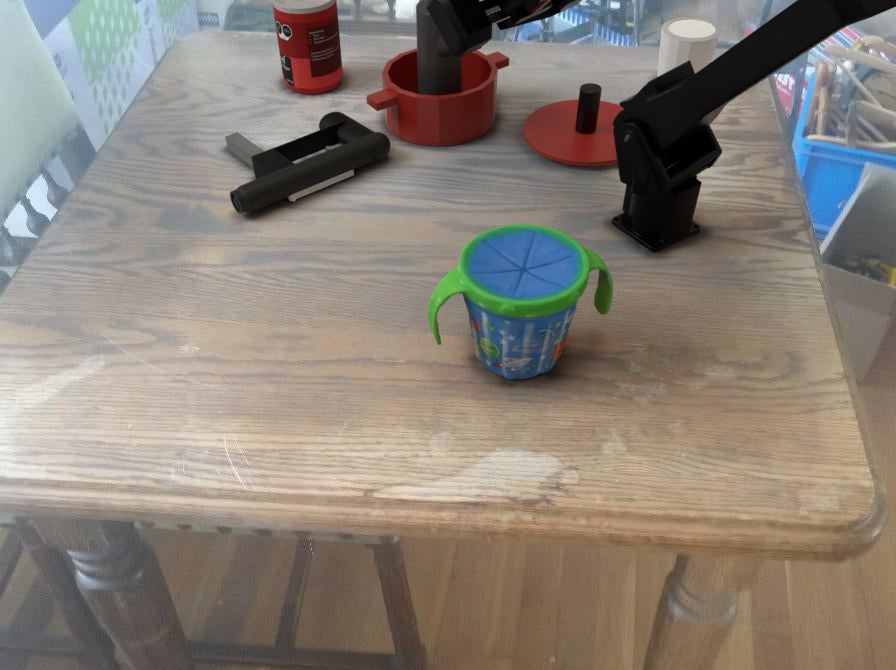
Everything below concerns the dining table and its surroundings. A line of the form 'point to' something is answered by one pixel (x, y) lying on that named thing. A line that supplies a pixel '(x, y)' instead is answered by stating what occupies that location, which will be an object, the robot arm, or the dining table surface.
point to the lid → (575, 129)
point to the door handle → (305, 161)
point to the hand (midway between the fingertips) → (469, 38)
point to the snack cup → (521, 295)
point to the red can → (309, 44)
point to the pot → (439, 101)
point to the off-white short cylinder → (687, 43)
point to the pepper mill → (434, 59)
